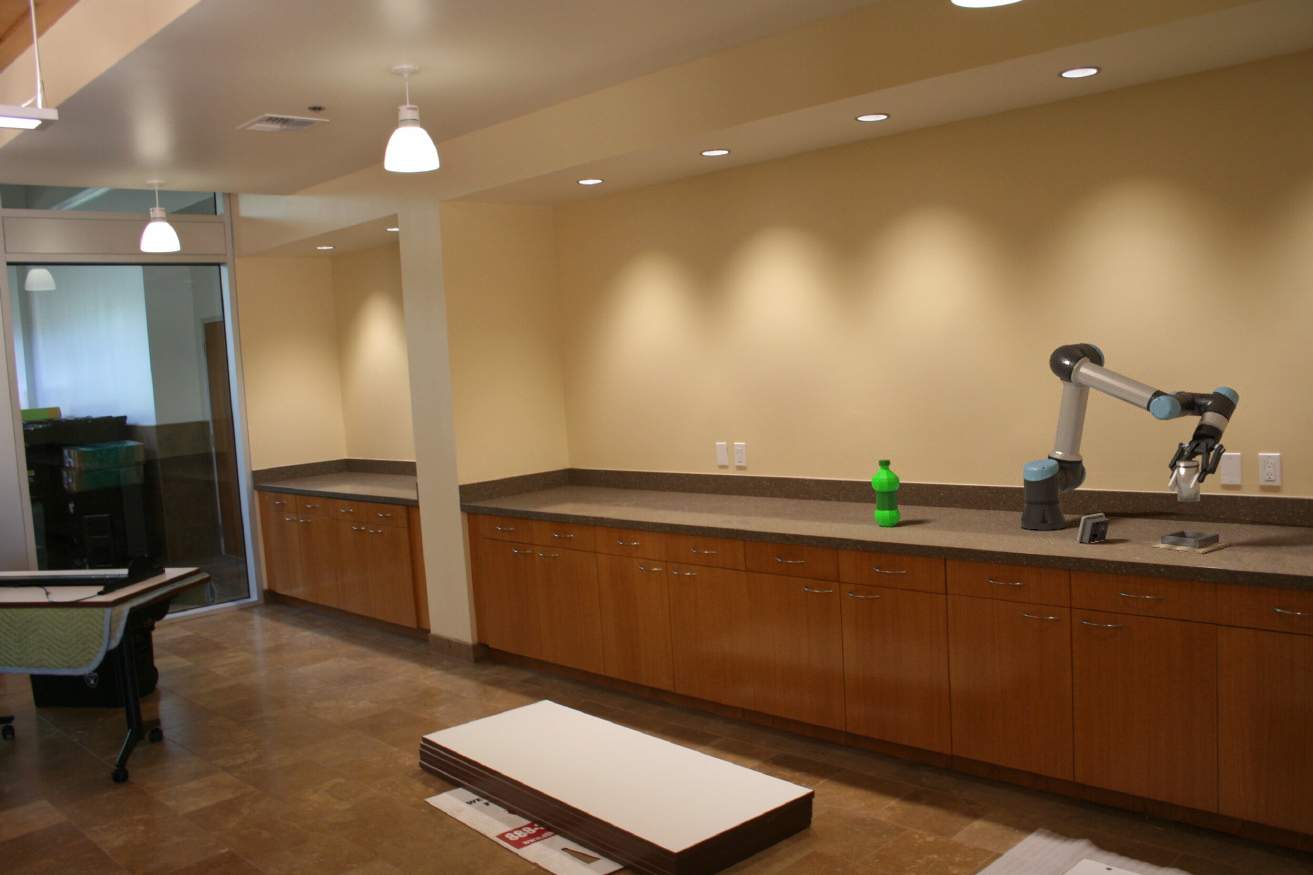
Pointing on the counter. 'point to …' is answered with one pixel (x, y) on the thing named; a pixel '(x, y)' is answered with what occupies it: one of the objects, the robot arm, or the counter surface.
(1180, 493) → the steel piston
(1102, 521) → the electrical switch
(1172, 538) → the collar plate
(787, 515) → the counter surface
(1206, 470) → the robot arm
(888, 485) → the plastic bottle
